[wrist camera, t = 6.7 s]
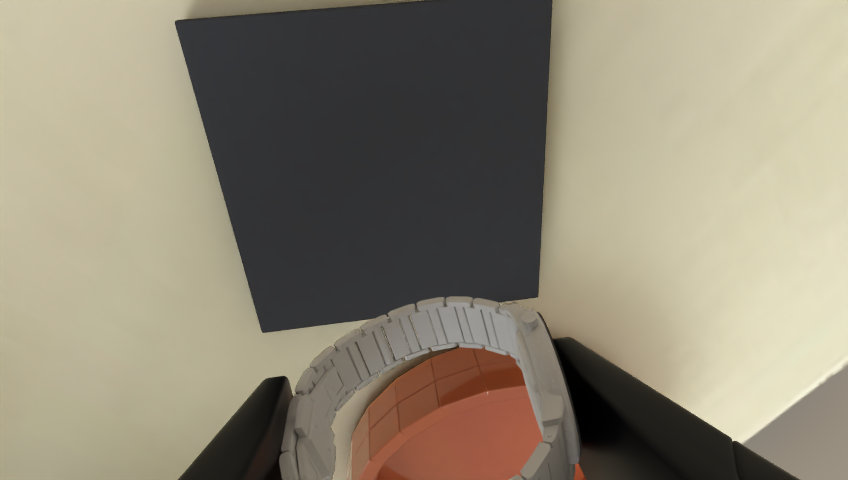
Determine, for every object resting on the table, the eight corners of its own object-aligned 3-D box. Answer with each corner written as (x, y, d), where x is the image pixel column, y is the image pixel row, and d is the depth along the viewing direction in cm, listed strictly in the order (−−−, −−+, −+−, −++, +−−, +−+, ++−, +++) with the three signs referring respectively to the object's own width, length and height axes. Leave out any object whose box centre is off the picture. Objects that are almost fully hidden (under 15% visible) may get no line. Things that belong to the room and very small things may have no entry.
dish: (610, 512, 30) (639, 570, 27) (368, 552, 29) (369, 618, 26) (645, 313, 23) (689, 362, 20) (326, 356, 22) (321, 415, 19)
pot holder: (532, 288, 22) (538, 298, 21) (265, 322, 21) (261, 333, 20) (545, -9, 16) (553, -10, 15) (181, 19, 15) (172, 20, 14)
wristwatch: (527, 341, 11) (634, 554, 7) (330, 400, 12) (312, 648, 7) (506, 240, 10) (620, 424, 6) (283, 306, 10) (225, 540, 6)
